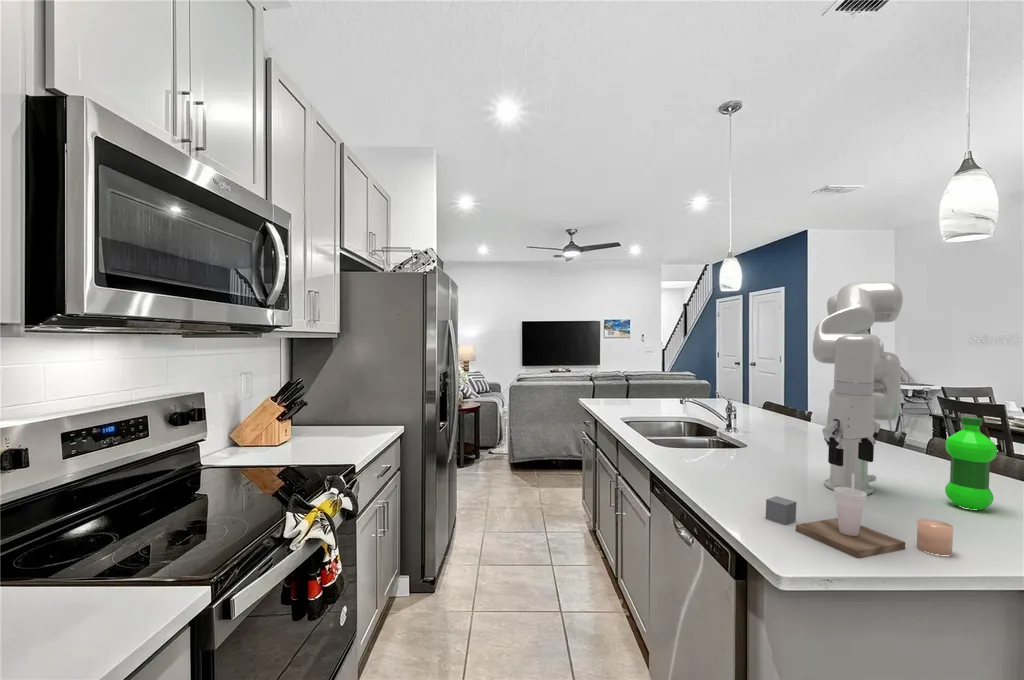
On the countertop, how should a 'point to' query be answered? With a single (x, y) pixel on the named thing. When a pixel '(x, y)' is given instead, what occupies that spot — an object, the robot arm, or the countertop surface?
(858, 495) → the smoothie
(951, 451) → the plastic bottle
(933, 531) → the peach rounded cylinder
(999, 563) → the countertop surface
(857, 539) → the walnut board
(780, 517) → the rubber block
